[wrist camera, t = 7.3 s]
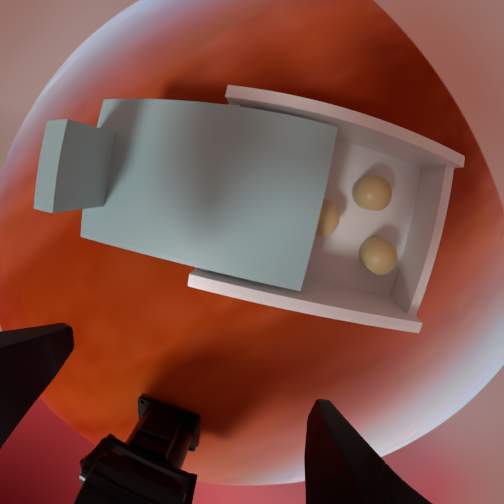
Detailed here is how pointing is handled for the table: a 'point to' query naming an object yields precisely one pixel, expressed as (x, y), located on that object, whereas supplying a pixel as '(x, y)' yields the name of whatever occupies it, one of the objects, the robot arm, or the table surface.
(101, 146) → the lid
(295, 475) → the table surface
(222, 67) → the table surface
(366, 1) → the table surface
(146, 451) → the robot arm
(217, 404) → the table surface
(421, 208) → the parts tub
